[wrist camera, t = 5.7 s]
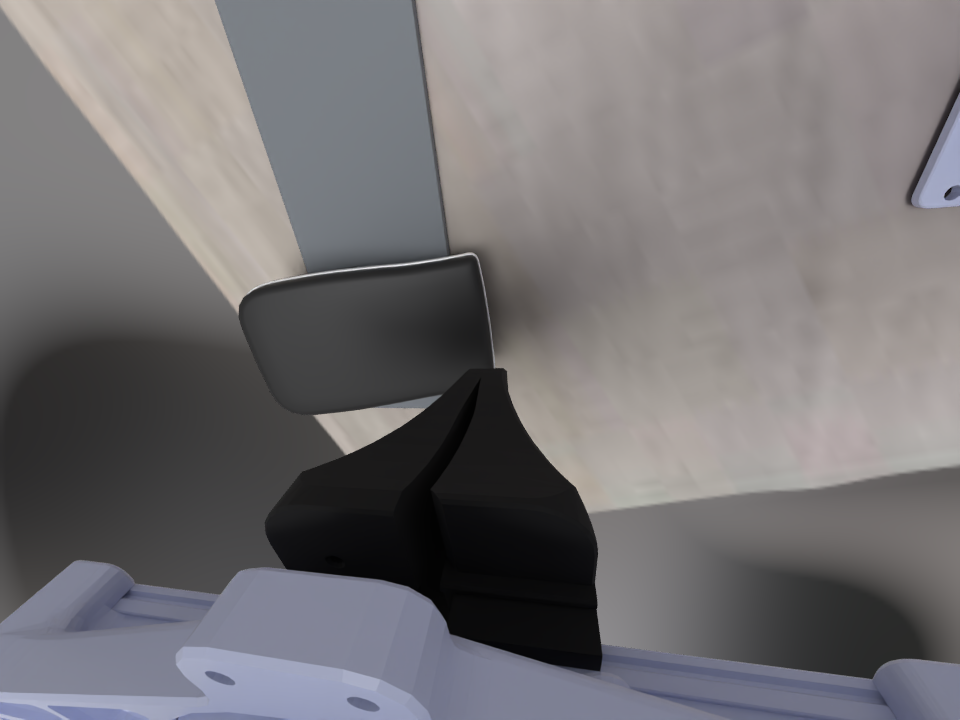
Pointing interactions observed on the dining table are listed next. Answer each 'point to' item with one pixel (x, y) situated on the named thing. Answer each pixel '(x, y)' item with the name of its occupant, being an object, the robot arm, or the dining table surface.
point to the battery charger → (369, 333)
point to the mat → (344, 127)
